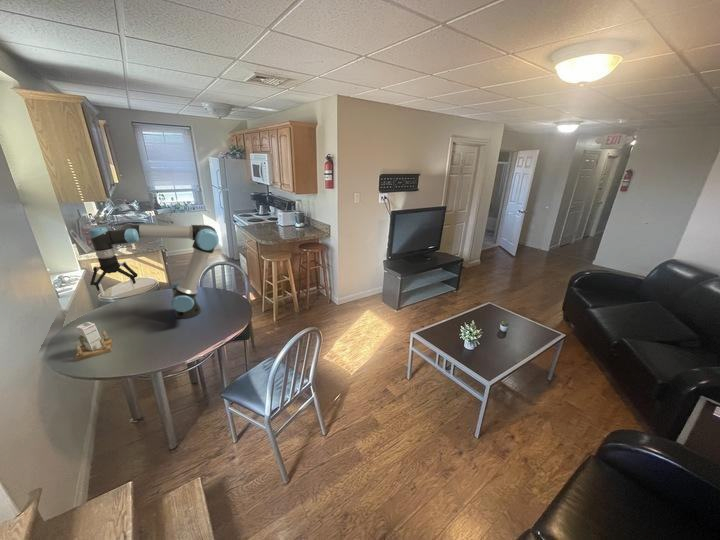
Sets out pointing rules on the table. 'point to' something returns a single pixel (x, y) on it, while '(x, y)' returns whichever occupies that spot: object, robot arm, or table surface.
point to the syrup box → (89, 336)
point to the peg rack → (85, 353)
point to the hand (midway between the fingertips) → (119, 292)
